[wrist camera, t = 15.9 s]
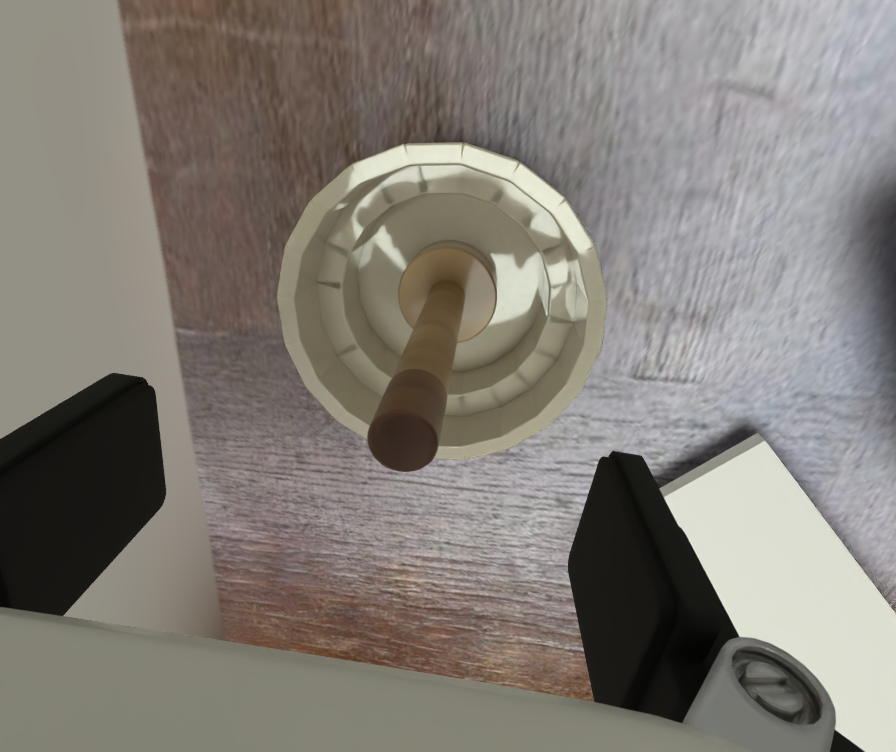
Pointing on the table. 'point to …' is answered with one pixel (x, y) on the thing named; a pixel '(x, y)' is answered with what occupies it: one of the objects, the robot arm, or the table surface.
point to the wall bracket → (792, 582)
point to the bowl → (387, 256)
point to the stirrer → (431, 349)
